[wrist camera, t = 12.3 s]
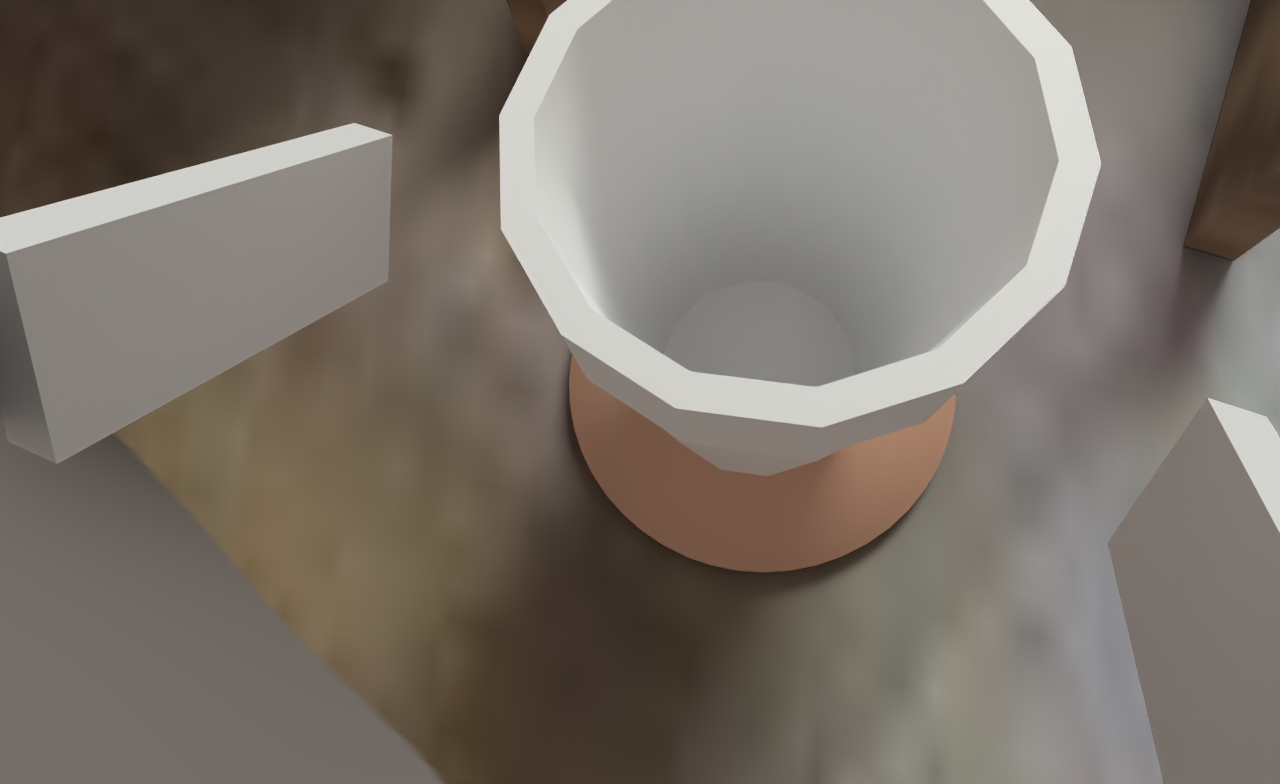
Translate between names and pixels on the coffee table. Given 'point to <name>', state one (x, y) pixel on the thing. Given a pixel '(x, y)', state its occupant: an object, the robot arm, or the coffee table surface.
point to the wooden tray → (1240, 152)
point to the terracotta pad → (752, 488)
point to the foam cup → (794, 206)
